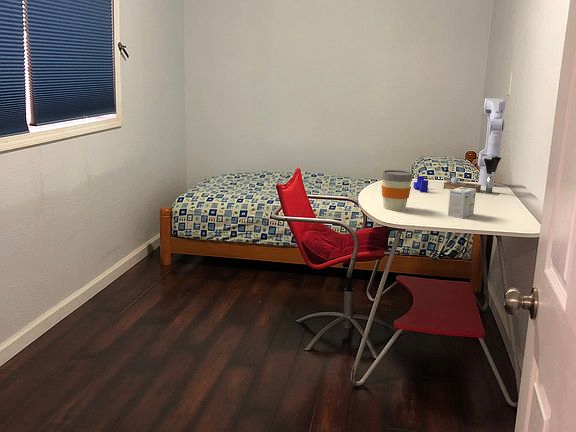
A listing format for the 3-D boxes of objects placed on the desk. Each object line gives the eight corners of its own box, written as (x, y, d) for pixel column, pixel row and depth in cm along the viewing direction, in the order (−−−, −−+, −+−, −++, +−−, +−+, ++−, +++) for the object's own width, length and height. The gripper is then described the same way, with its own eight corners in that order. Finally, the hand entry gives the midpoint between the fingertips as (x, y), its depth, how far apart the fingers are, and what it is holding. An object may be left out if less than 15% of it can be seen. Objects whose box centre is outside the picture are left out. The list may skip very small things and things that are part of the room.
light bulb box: (458, 212, 268) (461, 186, 266) (474, 214, 264) (476, 188, 262) (446, 215, 260) (449, 189, 258) (462, 218, 256) (465, 191, 254)
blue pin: (451, 187, 323) (452, 177, 322) (457, 188, 321) (458, 177, 320) (449, 188, 320) (451, 177, 319) (455, 189, 319) (457, 178, 318)
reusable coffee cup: (386, 211, 262) (389, 175, 259) (374, 205, 274) (377, 170, 271) (414, 211, 266) (418, 175, 262) (401, 204, 277) (404, 169, 274)
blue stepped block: (413, 188, 319) (414, 175, 318) (422, 188, 319) (423, 176, 318) (417, 192, 307) (418, 180, 306) (427, 193, 307) (428, 180, 306)
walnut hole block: (448, 186, 326) (448, 180, 326) (480, 190, 318) (481, 184, 318) (443, 188, 319) (444, 182, 319) (476, 193, 312) (476, 187, 311)
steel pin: (486, 191, 315) (488, 175, 313) (492, 192, 313) (494, 176, 311) (484, 192, 312) (486, 176, 310) (491, 193, 311) (493, 177, 309)
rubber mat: (484, 191, 317) (484, 190, 317) (501, 193, 314) (501, 192, 313) (480, 193, 311) (480, 193, 311) (497, 196, 307) (497, 195, 307)
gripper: (489, 142, 315) (486, 170, 318) (481, 144, 303) (478, 173, 306) (504, 143, 312) (501, 171, 315) (497, 146, 300) (493, 175, 303)
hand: (491, 172), depth 310 cm, fingers open, 7 cm apart
